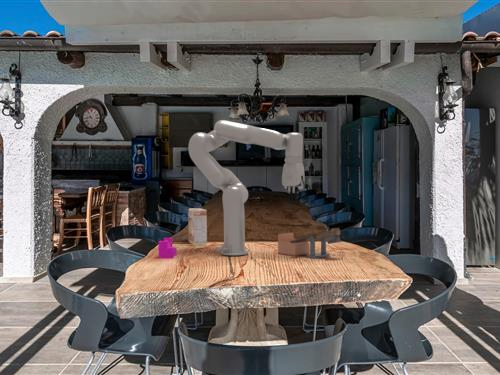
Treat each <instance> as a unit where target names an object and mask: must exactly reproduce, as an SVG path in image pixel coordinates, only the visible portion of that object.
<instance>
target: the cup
mask: <svg viewBox="0 0 500 375" xmlns="http://www.w3.org/2000/svg"><path fill="white" fill-rule="evenodd" d="M293 240H295V237H294V232H287V233H286V232H285V233H278V234H277V247H278V248H277V254H278V255H283V256H290V257H300V256H304V255H305V256H306V255H309V253H310V242H309V241H306V242H299V243H290V241H293Z"/></svg>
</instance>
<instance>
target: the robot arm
mask: <svg viewBox="0 0 500 375" xmlns="http://www.w3.org/2000/svg"><path fill="white" fill-rule="evenodd" d="M303 140H304V139H303V134H302V133H301V132H288V133H286V134H285V133H281V132H279V131H276V130H272V129H268V128H262V127H258V126H254V125H250V124H246V123H240V122H235V121H231V120H227V119H221V120H218V121H216V122H215V124H214V127H213V130H211V131H210V132H208V133H206V132H195V133H193V135H192V136H191V137H190V138H189V141H188V154H189V157H190V159H191V161H192V162H193V163H194V165H195V166H196V167H197V168H198V169H199V170H200V172H201V173H202V174H203V175H204V177H205V178H206V179H207V180H208V181H209V182H210V184H211V185H212V186H213V187H215V188H217V189H218V188H219V189H220V190H221V191H222V192H223V193H222V196H221V197H222V208H223V244H222V245H221V246H217V247H215V251H216V252H220V254H221V255H224V256H244V255H248V254H249V251H248V250H246V247H245V246H246V245H245V244H246V239H245V238H246V236H245V235H246V234H245V233H246V232H245V230H246V229H245V228H246V224H245V223H246V222H245V220H246V219H245V203H246V202H247V200H248V198H249V191H248V189H247V187H246V186H245V185H244V184H243V183H242V182H241V181H240V180H239V178H238V177H237V176H236V175H235V174H234V172H232V171H231V170H230V169H229V168H226V167H223V166H221V165H220V164H219V162H218V161H217V160H216V159H215V157H213V155H212V154H210V152H213V151H215V150H216V149H218V148H220V147H221V146H223V145H225V144H227V143H228V142H229V141H231V142H232V141H233V142H235V143H240V144H246V145H250V144H251V145H258V146H262V147H266V148H271V149H273V150H276V151H280V150H285V158H284V162H285V163H284V164H283V168H282V175H281V184H282V186H283V189H286V190H287V191H288V193H289V203H297V202H298V194H299V191H300V190H304V185H305V181H306V180H305V178H306V176H305V168H304V163H303V143H304V142H303Z"/></svg>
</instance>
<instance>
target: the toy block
mask: <svg viewBox="0 0 500 375" xmlns="http://www.w3.org/2000/svg"><path fill="white" fill-rule="evenodd" d="M176 255H177V247H174V246H173V237H163V240H159V241H158V259H164V260H165V259H174V258H175V256H176Z"/></svg>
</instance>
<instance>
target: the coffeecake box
mask: <svg viewBox="0 0 500 375" xmlns="http://www.w3.org/2000/svg"><path fill="white" fill-rule="evenodd" d="M187 211H188V212H187V213H188V216H187V217H188V218H187V219H188V243H189V244H191V245H192V246H193V247H200V246H203V247H204V246H206V247H207V245H208V227H207V224H208V223H207V222H208V219H207V218H208V217H207V213H208V211H207V209H204V208H196V207H195V208H188V210H187Z"/></svg>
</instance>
